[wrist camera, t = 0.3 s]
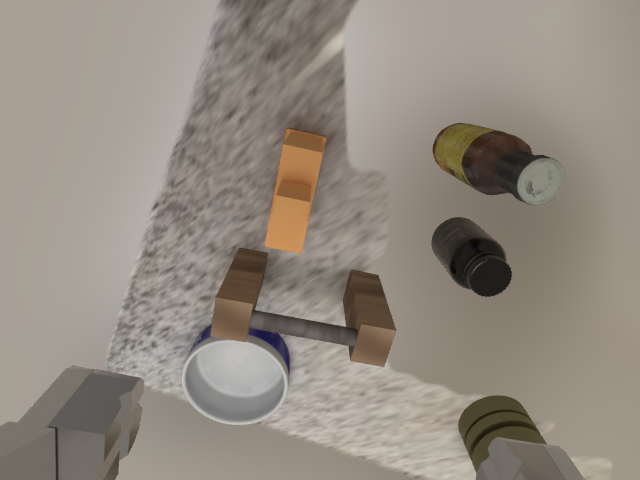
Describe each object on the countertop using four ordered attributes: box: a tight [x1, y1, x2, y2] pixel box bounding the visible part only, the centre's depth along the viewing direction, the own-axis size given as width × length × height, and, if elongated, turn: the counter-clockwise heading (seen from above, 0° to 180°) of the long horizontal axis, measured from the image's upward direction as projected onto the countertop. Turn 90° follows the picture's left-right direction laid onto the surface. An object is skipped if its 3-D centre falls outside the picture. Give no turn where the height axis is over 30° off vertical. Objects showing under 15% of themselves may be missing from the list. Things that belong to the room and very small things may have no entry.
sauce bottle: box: [433, 123, 565, 205], centre depth 42 cm, size 6×6×20 cm
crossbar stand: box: [210, 248, 396, 367], centre depth 51 cm, size 5×20×14 cm, turn 78°
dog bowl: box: [181, 325, 290, 425], centre depth 60 cm, size 15×15×6 cm
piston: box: [459, 396, 547, 473], centre depth 62 cm, size 11×12×11 cm
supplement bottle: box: [432, 217, 512, 297], centre depth 50 cm, size 7×7×12 cm
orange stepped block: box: [265, 128, 326, 254], centre depth 44 cm, size 12×5×18 cm, turn 168°
